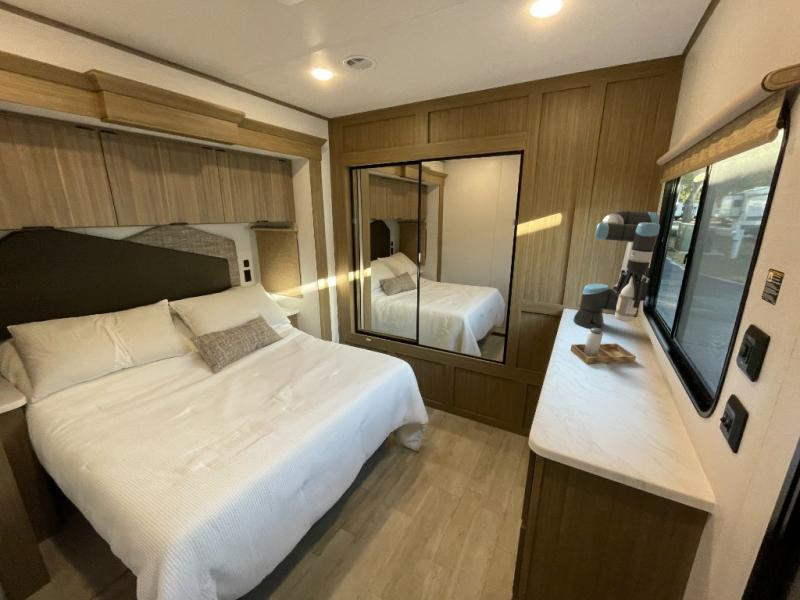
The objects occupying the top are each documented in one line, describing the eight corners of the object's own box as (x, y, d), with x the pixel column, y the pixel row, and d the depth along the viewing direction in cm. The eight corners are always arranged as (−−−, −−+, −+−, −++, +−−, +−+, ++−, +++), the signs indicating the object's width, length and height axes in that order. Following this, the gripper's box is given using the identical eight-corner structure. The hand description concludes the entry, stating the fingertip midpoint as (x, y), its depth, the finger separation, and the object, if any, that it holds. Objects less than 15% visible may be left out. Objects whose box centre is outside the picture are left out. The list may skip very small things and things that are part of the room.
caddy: (614, 349, 160) (616, 343, 158) (634, 362, 148) (635, 356, 147) (570, 350, 158) (571, 344, 157) (586, 364, 146) (587, 357, 145)
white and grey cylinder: (587, 351, 156) (593, 326, 151) (599, 356, 151) (606, 330, 147) (581, 354, 153) (587, 328, 148) (593, 359, 148) (599, 333, 144)
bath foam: (613, 314, 151) (624, 273, 144) (630, 317, 148) (642, 275, 141) (615, 320, 145) (626, 277, 138) (633, 323, 142) (646, 279, 135)
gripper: (614, 255, 146) (602, 303, 154) (649, 266, 128) (634, 319, 136) (630, 255, 147) (617, 302, 155) (667, 266, 128) (651, 319, 136)
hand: (625, 310), depth 145 cm, fingers closed on bath foam, 7 cm apart
